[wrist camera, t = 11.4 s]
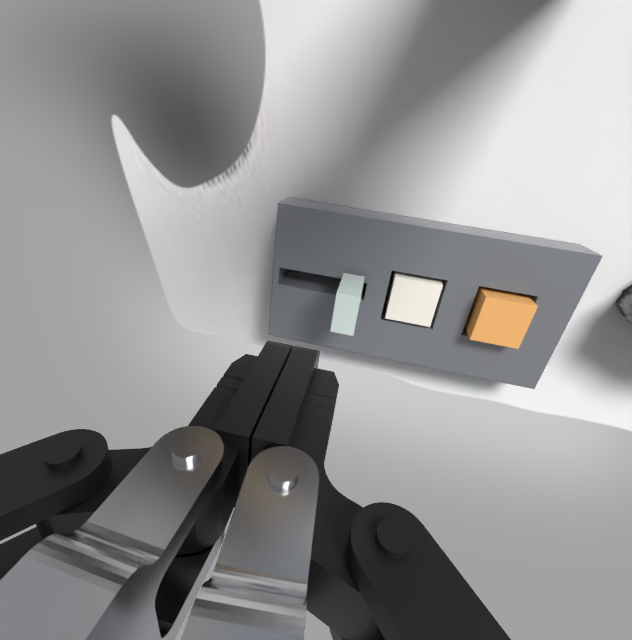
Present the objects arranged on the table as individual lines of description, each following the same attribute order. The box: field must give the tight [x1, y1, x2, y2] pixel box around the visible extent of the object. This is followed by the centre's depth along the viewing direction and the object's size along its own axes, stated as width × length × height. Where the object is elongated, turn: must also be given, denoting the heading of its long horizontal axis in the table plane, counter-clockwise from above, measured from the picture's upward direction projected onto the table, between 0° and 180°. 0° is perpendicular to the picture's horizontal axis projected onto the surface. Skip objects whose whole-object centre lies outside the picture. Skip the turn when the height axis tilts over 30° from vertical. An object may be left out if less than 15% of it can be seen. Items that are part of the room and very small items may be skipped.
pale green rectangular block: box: [330, 273, 365, 336], centre depth 34 cm, size 4×2×10 cm, turn 172°
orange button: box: [464, 286, 538, 349], centre depth 34 cm, size 4×4×4 cm
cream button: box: [385, 271, 443, 327], centre depth 36 cm, size 4×4×4 cm
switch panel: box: [269, 198, 602, 389], centre depth 36 cm, size 14×28×4 cm, turn 82°
